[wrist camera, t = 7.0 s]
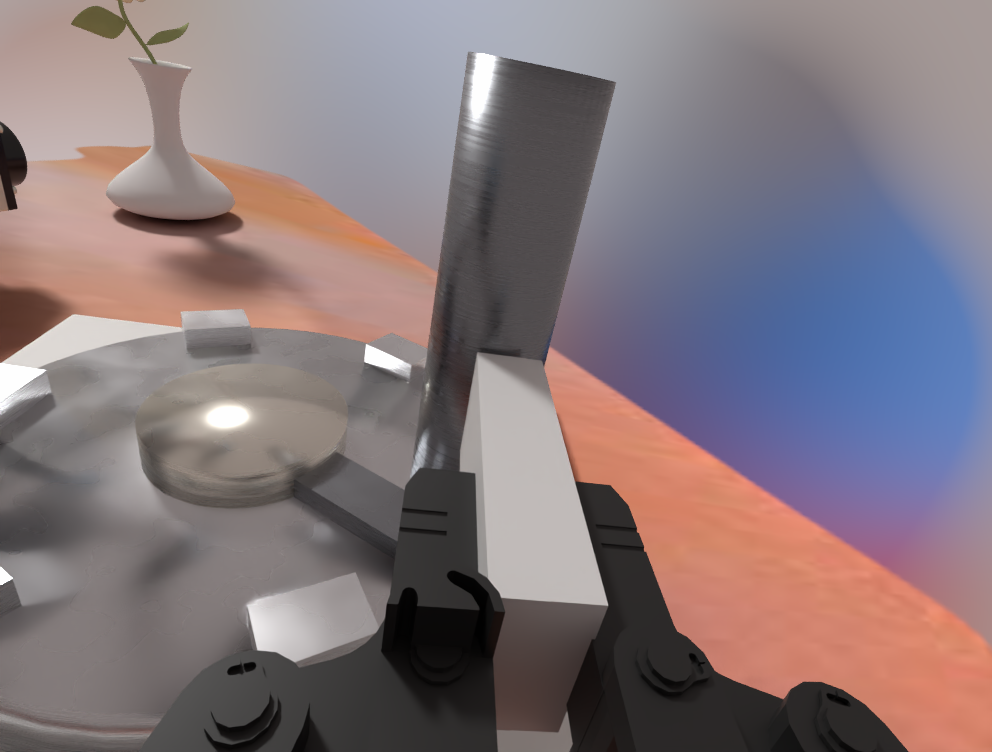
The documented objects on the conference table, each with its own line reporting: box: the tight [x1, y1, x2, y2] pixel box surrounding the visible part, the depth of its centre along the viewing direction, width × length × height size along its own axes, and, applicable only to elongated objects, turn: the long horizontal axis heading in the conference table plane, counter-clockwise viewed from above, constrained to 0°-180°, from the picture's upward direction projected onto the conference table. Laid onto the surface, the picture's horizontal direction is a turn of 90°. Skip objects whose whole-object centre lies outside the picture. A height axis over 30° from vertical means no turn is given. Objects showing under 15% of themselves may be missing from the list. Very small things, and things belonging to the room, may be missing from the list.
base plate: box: [0, 314, 573, 752], centre depth 23 cm, size 28×28×2 cm
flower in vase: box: [71, 0, 235, 220], centre depth 51 cm, size 13×11×25 cm
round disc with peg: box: [0, 52, 616, 752], centre depth 18 cm, size 20×20×16 cm
